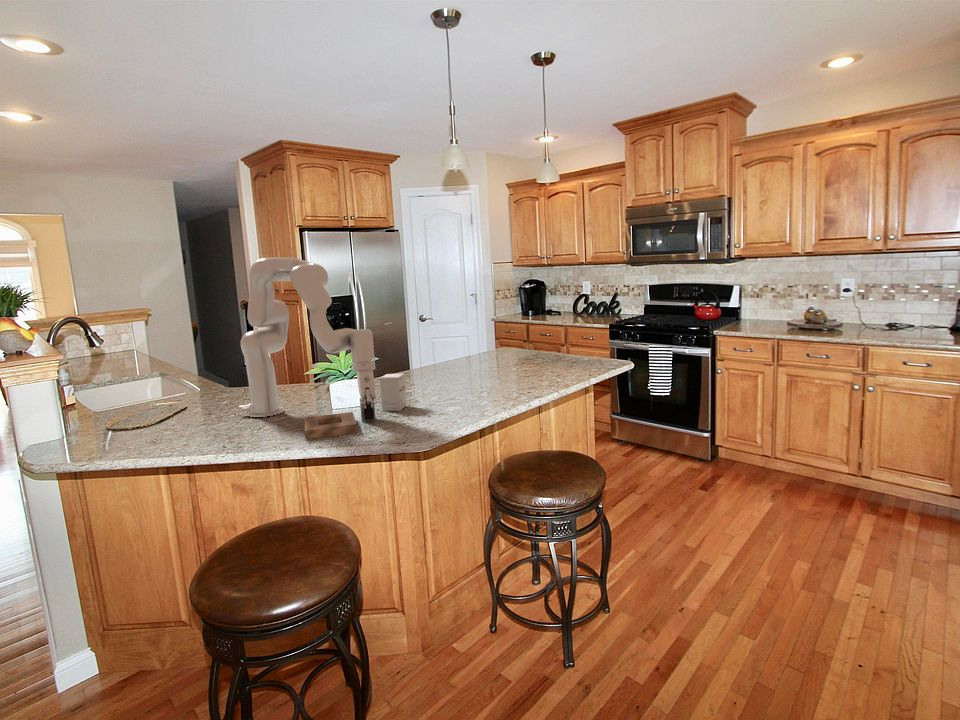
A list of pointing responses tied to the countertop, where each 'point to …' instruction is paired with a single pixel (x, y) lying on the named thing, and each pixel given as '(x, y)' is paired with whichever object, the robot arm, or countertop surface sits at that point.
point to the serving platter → (137, 425)
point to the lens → (363, 411)
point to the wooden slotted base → (330, 425)
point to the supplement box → (393, 392)
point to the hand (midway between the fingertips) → (368, 416)
